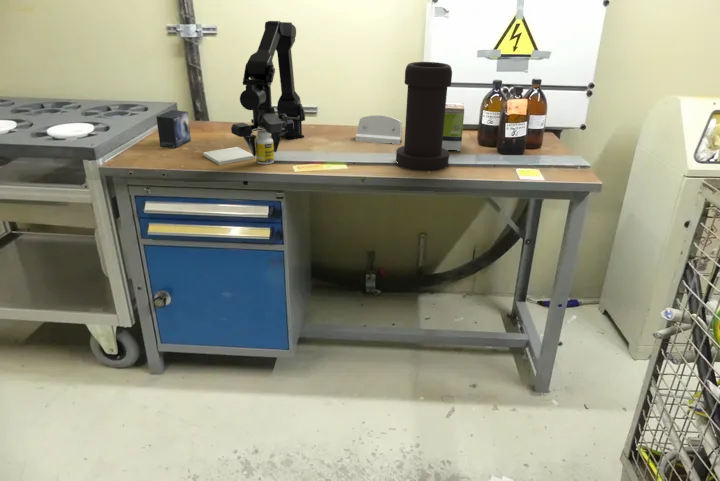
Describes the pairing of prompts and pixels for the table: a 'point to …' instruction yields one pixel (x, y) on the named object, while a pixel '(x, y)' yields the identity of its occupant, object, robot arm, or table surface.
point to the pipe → (425, 117)
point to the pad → (228, 155)
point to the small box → (173, 129)
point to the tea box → (453, 126)
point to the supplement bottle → (264, 148)
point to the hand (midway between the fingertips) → (264, 153)
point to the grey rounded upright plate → (379, 129)
